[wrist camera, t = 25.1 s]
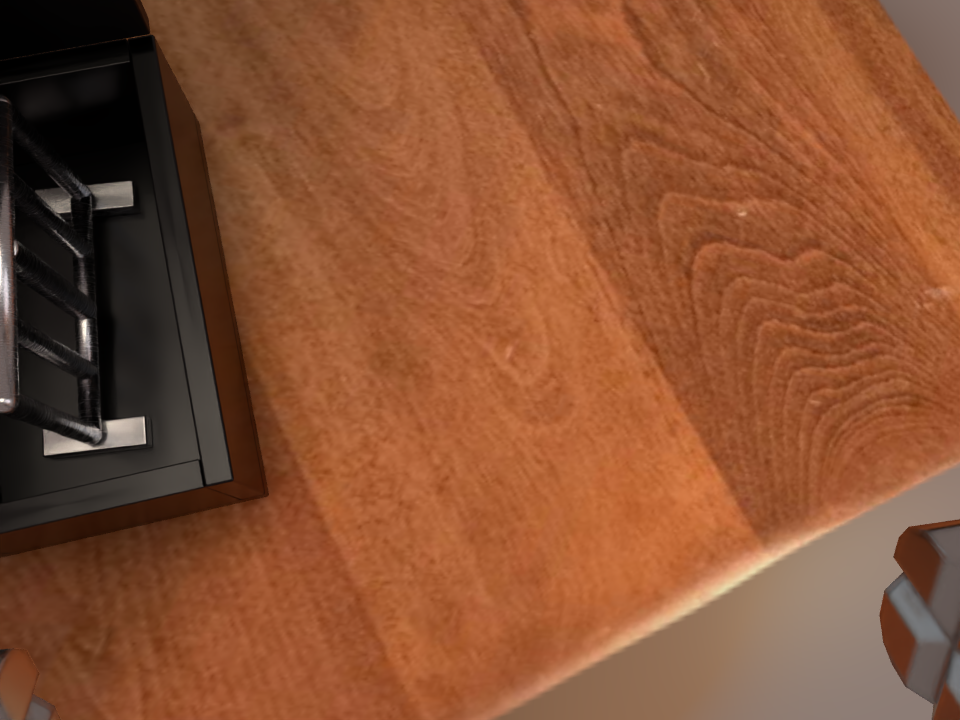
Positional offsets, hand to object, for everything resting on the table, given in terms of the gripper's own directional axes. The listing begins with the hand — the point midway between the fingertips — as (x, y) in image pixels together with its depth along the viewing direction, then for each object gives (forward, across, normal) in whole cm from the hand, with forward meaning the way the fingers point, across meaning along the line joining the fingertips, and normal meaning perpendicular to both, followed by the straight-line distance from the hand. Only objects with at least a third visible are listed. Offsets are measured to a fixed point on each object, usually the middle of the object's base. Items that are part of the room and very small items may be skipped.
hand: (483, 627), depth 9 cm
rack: (+29, +13, +11) cm, 33 cm away
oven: (+29, +13, +12) cm, 34 cm away
